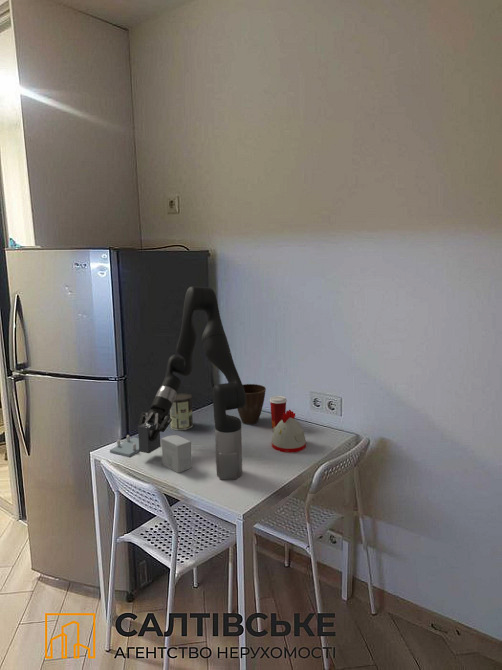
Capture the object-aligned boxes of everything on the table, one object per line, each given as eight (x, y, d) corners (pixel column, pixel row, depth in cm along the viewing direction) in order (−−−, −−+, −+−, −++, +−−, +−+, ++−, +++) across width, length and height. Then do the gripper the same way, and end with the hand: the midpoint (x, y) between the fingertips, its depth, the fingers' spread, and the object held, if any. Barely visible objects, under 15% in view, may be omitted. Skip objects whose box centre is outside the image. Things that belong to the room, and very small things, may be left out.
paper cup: (290, 426, 211) (289, 396, 208) (281, 432, 204) (281, 401, 202) (274, 423, 215) (274, 394, 212) (266, 429, 208) (266, 398, 206)
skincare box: (192, 467, 172) (191, 440, 170) (178, 473, 168) (177, 446, 166) (176, 459, 180) (175, 433, 178) (162, 464, 175) (160, 438, 173)
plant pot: (251, 413, 228) (250, 382, 225) (272, 421, 217) (272, 388, 215) (227, 421, 218) (226, 388, 215) (249, 429, 207) (248, 395, 205)
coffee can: (183, 420, 221) (182, 391, 218) (197, 425, 214) (196, 396, 211) (165, 426, 213) (164, 397, 211) (179, 432, 206) (178, 401, 204)
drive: (151, 444, 185) (149, 420, 183) (160, 446, 182) (159, 422, 181) (139, 451, 178) (137, 426, 177) (149, 453, 176) (147, 428, 175)
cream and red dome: (264, 446, 190) (264, 410, 188) (285, 436, 200) (285, 402, 198) (291, 455, 181) (291, 418, 178) (312, 444, 191) (312, 409, 188)
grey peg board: (133, 439, 199) (133, 431, 198) (152, 443, 194) (151, 435, 194) (109, 452, 187) (109, 444, 186) (129, 456, 182) (128, 448, 182)
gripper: (145, 393, 187) (126, 432, 178) (174, 397, 180) (156, 438, 172) (154, 402, 192) (136, 440, 184) (183, 406, 186) (165, 446, 177)
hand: (146, 439), depth 178 cm, fingers closed on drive, 4 cm apart
